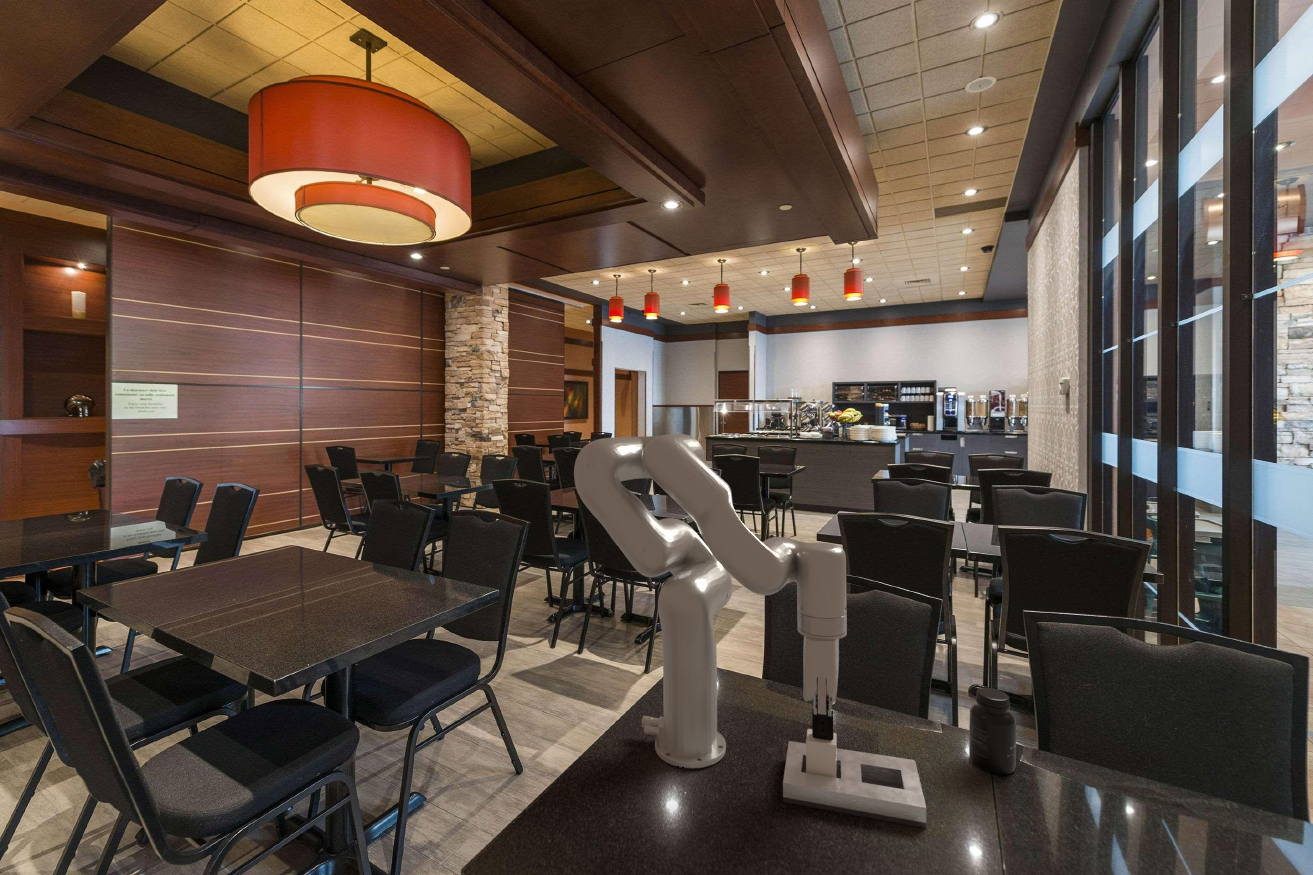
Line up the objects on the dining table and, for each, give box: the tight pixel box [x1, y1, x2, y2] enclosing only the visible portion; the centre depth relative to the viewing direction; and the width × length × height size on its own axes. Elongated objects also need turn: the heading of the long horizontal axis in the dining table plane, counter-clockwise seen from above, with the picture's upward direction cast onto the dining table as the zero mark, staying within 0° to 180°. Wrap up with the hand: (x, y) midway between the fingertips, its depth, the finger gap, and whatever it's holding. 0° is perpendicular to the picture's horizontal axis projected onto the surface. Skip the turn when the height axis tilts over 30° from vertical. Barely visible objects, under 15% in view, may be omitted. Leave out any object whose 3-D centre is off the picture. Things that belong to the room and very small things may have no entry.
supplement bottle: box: [968, 687, 1017, 776], centre depth 97 cm, size 7×7×12 cm
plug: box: [805, 728, 837, 778], centre depth 92 cm, size 4×4×7 cm
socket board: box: [782, 740, 927, 829], centre depth 91 cm, size 20×12×3 cm, turn 73°
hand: (823, 736), depth 92 cm, fingers closed
